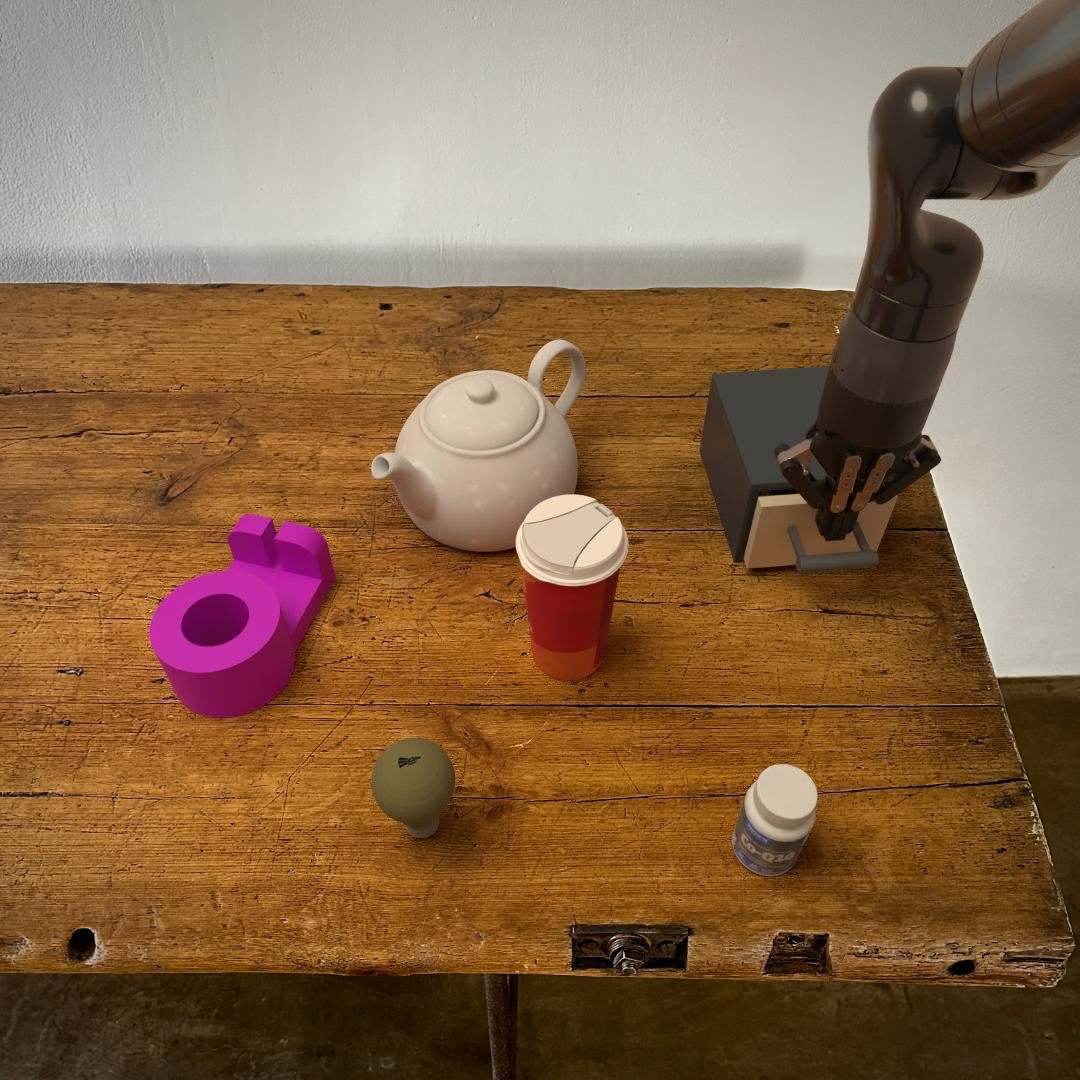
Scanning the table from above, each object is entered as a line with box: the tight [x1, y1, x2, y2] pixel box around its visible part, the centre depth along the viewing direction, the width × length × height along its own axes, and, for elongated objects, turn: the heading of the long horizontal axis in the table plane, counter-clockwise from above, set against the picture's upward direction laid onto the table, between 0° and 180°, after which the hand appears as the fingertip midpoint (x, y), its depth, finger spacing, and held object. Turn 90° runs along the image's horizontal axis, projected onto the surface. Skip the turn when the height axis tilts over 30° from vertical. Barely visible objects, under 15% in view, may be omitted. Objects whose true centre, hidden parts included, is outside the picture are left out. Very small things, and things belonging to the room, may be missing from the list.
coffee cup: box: [515, 494, 630, 682], centre depth 75 cm, size 8×8×15 cm
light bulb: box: [370, 737, 456, 839], centre depth 67 cm, size 6×6×10 cm
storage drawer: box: [743, 489, 899, 574], centre depth 86 cm, size 18×12×8 cm, turn 6°
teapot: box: [370, 339, 587, 553], centre depth 88 cm, size 19×18×14 cm
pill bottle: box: [731, 763, 819, 877], centre depth 66 cm, size 5×5×8 cm
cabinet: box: [699, 365, 895, 562], centre depth 89 cm, size 15×13×10 cm
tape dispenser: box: [148, 513, 337, 719], centre depth 80 cm, size 16×10×6 cm, turn 164°
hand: (831, 533), depth 81 cm, fingers closed
